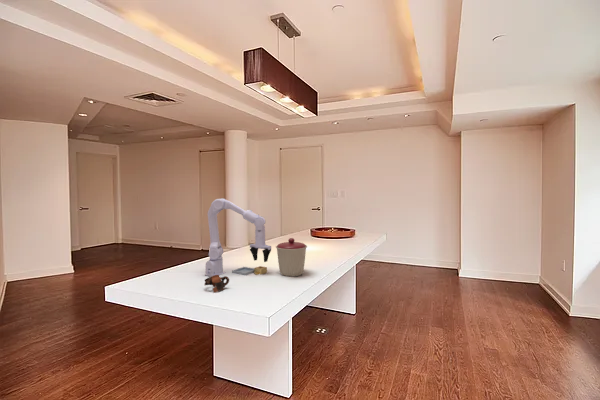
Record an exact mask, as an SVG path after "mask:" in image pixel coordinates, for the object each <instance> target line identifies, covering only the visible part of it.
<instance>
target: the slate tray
mask: <svg viewBox="0 0 600 400" xmlns="http://www.w3.org/2000/svg"><path fill="white" fill-rule="evenodd" d="M254 268H255V267H248V266H243V267H239V268H237V269H233V270H231V274H236V275H241V276H248V275H251V274H254Z"/></svg>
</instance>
